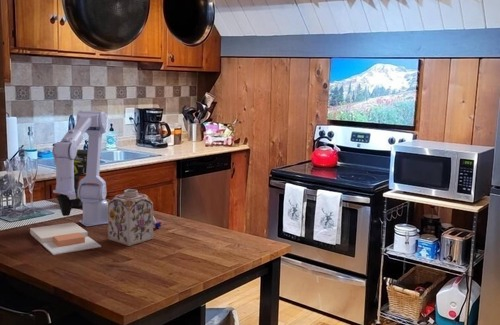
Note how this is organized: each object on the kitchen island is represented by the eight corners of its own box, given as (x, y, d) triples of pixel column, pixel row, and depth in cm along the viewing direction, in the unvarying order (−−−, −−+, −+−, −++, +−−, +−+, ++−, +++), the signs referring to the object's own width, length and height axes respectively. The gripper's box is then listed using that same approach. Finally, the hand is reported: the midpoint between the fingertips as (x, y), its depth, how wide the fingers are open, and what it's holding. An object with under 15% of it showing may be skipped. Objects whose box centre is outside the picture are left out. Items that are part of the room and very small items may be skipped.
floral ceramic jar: (132, 232, 196) (132, 185, 193) (154, 239, 190) (154, 190, 187) (106, 239, 187) (106, 190, 184) (128, 246, 180) (128, 195, 177)
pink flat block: (78, 237, 186) (78, 232, 186) (84, 242, 181) (84, 236, 181) (53, 241, 181) (52, 236, 180) (58, 246, 176) (58, 241, 176)
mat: (88, 237, 188) (88, 236, 188) (101, 246, 179) (101, 245, 179) (42, 244, 179) (42, 243, 178) (53, 255, 169) (53, 253, 169)
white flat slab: (74, 227, 199) (73, 222, 199) (87, 237, 189) (87, 231, 188) (30, 233, 190) (29, 228, 189) (41, 244, 179) (41, 238, 179)
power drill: (99, 207, 229) (99, 151, 225) (59, 208, 226) (58, 150, 222) (101, 202, 238) (101, 148, 234) (62, 202, 235) (61, 147, 231)
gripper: (46, 174, 182) (47, 211, 185) (60, 181, 171) (61, 222, 173) (66, 172, 187) (67, 209, 189) (81, 179, 175) (82, 219, 178)
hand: (65, 215), depth 181 cm, fingers closed
